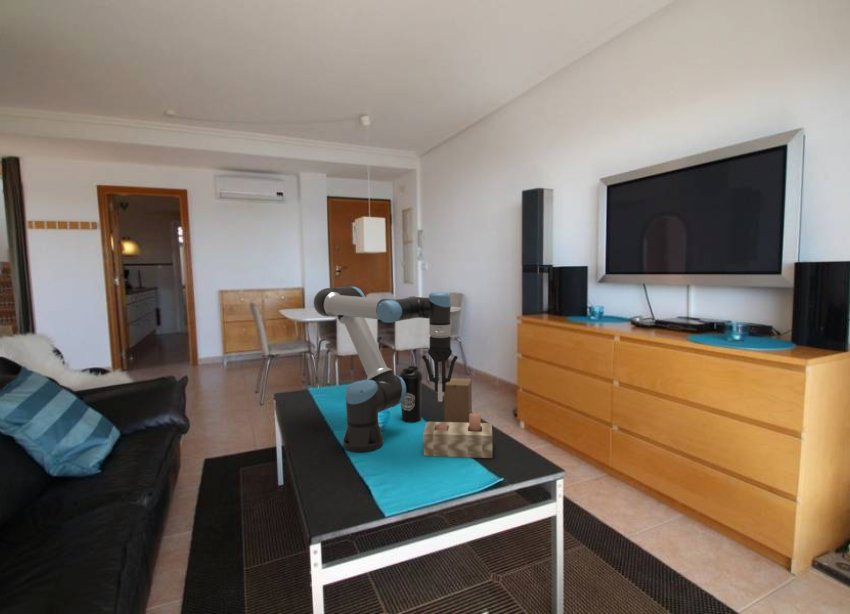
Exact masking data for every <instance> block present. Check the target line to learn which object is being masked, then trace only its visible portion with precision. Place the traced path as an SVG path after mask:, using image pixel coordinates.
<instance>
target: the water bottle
mask: <svg viewBox="0 0 850 614" xmlns="http://www.w3.org/2000/svg"><path fill="white" fill-rule="evenodd" d="M398 376H399V377H401V378H402V379H403V380H404V382H405V385H406V394H405V398H404V400H403V401H402V402H401V403H400V408H401V409H400V410H401V421H402V420H403V421H402V422H404V421H405V422H404V423H407V422H409V423H408V424H414V423H413V422H415V423H418V421H419V422H421V420H422V387H423V386H422V381H423V374H422V372H421V371H420V370H419V367H418V366H416V365H415V366H413V365H409V366H408V367H407V368H402V370H401V371H400V373H399V374H398ZM410 422H411V423H410Z"/></svg>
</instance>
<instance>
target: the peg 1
mask: <svg viewBox="0 0 850 614" xmlns="http://www.w3.org/2000/svg"><path fill="white" fill-rule="evenodd" d="M436 430H440V431H447V425H445V424H438V425H436Z"/></svg>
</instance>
